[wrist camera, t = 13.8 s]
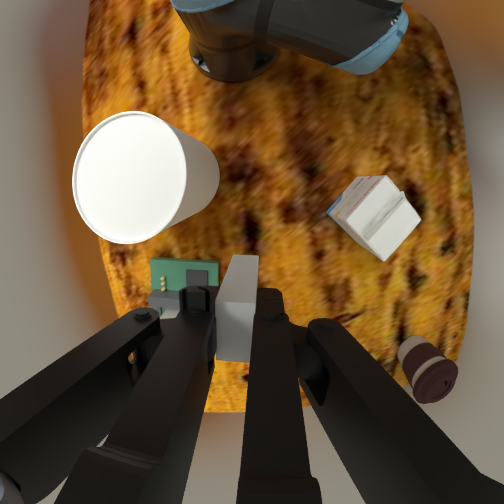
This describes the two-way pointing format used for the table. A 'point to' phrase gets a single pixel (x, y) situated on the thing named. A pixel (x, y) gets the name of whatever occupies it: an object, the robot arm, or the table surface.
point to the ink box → (375, 214)
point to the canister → (141, 177)
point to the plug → (170, 313)
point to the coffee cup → (426, 369)
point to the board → (178, 279)
